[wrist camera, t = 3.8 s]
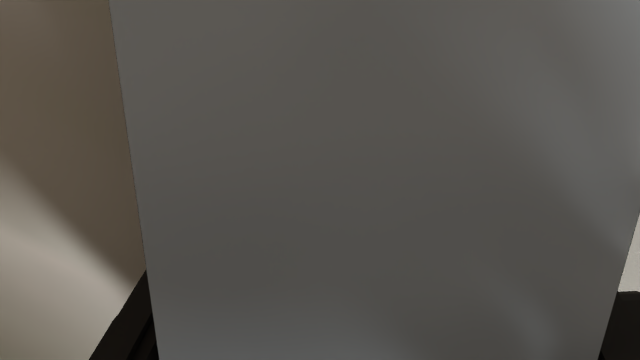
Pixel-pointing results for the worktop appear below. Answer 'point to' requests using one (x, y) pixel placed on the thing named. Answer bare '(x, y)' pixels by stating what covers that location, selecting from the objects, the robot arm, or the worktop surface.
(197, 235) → the slate slab
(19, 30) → the worktop surface
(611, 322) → the robot arm
